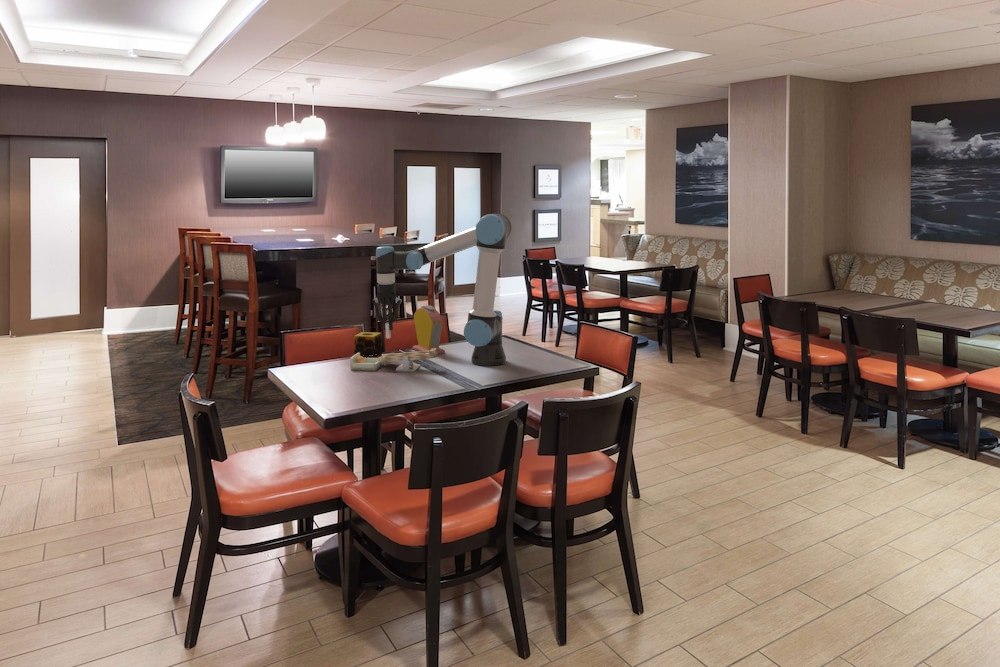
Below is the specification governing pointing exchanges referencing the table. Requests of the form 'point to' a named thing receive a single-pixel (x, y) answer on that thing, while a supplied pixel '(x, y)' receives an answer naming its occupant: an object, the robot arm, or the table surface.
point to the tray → (368, 365)
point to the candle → (368, 344)
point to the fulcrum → (407, 365)
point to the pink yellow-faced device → (428, 329)
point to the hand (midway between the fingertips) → (388, 337)
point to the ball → (360, 359)
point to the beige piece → (412, 355)
